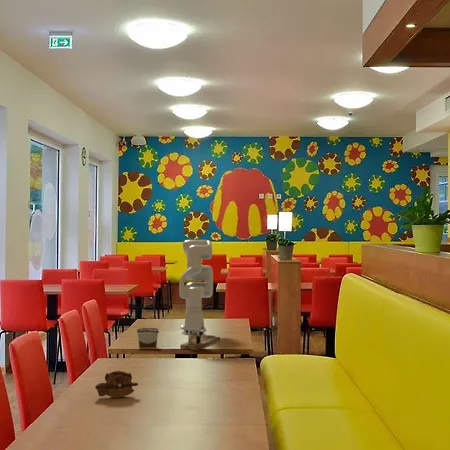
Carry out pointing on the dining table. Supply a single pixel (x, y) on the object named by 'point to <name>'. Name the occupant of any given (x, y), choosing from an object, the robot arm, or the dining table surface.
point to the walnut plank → (201, 343)
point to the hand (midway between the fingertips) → (194, 342)
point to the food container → (148, 337)
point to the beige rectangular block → (192, 338)
